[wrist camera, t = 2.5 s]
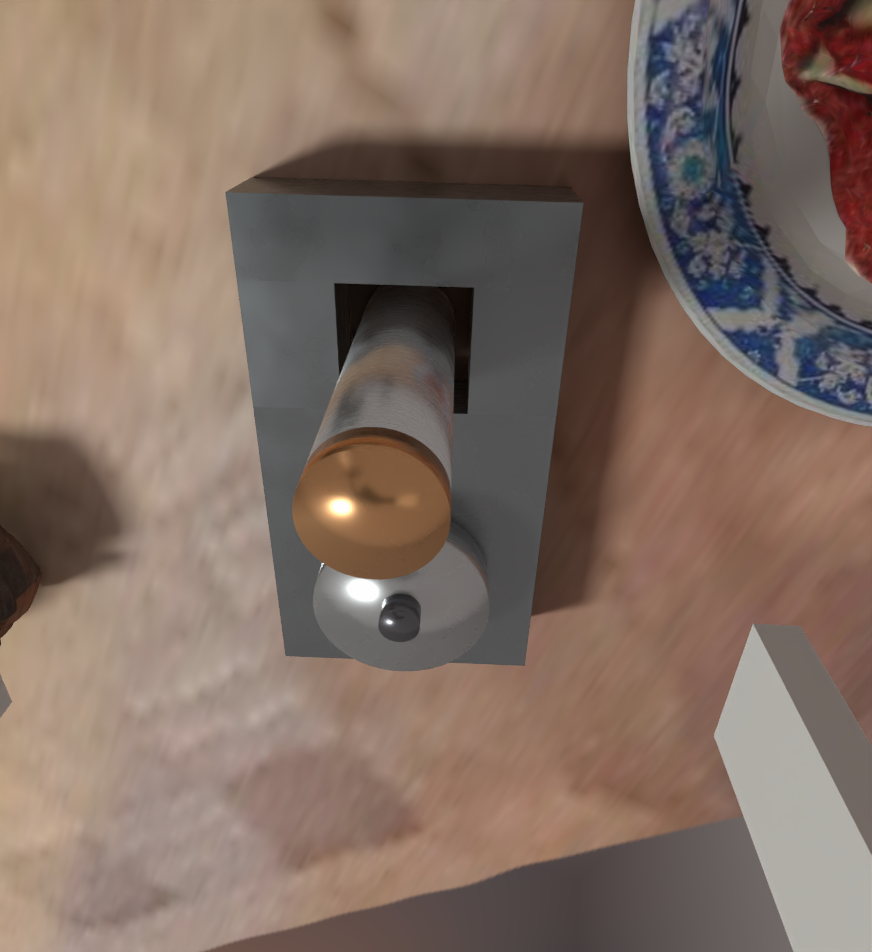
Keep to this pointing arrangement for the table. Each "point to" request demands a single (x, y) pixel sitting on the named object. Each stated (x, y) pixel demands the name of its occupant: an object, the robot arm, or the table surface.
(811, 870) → the robot arm
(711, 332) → the ceramic plate
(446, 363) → the pin
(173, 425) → the table surface
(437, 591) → the block
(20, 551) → the broken brown mug
